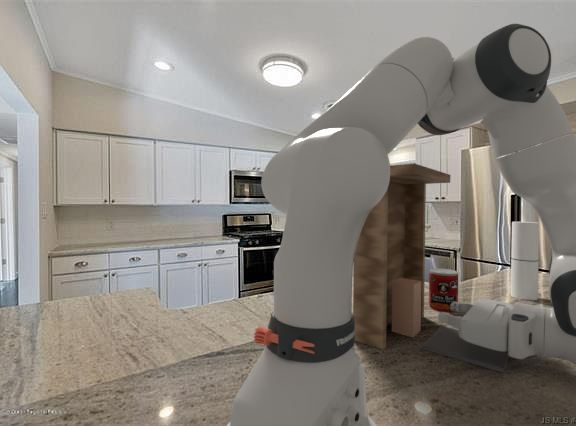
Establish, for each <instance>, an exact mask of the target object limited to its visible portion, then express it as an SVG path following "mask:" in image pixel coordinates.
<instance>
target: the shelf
mask: <svg viewBox="0 0 576 426" xmlns="http://www.w3.org/2000/svg"><path fill="white" fill-rule="evenodd" d="M448 183H449V184H450V183H451V174H449V173H446V172H443V171H440V170H436V169H433V168H429V167H427V166H424V165H420V164H417V163H408V164H407V163H404V164H396V165H395V164H394V165H390V181H389V185H388V188H387V191H386V193H385V195H384V196H383V198H382V199H381V200H380V202H379V203H378V204H377V205H376V206H375V207H374V208H373V209H372V210H371V212H370V213H369V215H368V216H367V218H366V220H365V223H364V225H363V228H362V231H361V234H360V237H359V240H358V244H357V247H356V251H355V256H354V262H353V276H352V297H353V298H352V301H353V303H352V314H353V316H354V320H355V327H356V332H355V341H356V342H357V343H361V344H364V345H368V346H371V347H373V348H377V349H379V350H382V351H383V350H385V349H386V348H387V326H388V325H389V324H392V281H394V280H397V279H399V278H404V279H411V280H417V281H421V319H423V318H424V317H425V274H426V273H425V269H426V267H425V266H426V265H425V264H426V263H425V262H426V201H427V200H426V199H427V198H426V195H427V194H426V193H427V188H426V187H427V184H429V185H430V184H431V185H433V184H448Z"/></svg>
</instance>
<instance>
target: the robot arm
mask: <svg viewBox="0 0 576 426" xmlns="http://www.w3.org/2000/svg"><path fill="white" fill-rule="evenodd" d="M551 67H552V52H551V48H550V45H549V44H548V42H547V40H546V38H545V36H543V35H542V33H540V32H539V31H538V30H537V29H535V28H533V27H531V26H529V25H525V24H520V23H511V24H508V25H505V26H502V27H500V28H498V29H497V30H494V31H492V32H491V33H489V34H488V35H486V36H484V37H483V38H481V40H480V41H479V42H478V43H477V44H476V45H474V46H472V47H471V48H469V49H468V50H466V51H465V52H463V53H462V54H461V55H459V56H458V57H457V58H455V57H453V56H452V53H451V50H450V48H448V46H447V45H446V44H445V43H443V42H442V41H441V40H439V39H437V38H434V37H431V36H430V37H429V36H423V37H422V36H421V37H417V38H414V39H411V40H410V41H408V42H407V43H405V44H403V45H401V46H400V47H398V48H396V49H395V50H394V51H392V52H391V53H389V54H388V55H387V56H385V57H384V58H383V59H382V60H380V61H379V62H378V63H377V64H376V65H375V66H373V68H371V69H370V70H369V71H368V72H367V73H366V74H365V75H364V76H363V77H362V78H361V79H360V80H359V81H358V82H356V83H355V84H354V86H352V87H351V88H350V89H349V90H348V91H347V92H346V93H345V94H343V96H342V97H341V98H340V99H338V100H337V101H336V102H335V103H333V105H332V106H331V105H330V107H329V108H328V109H327V110H326V111H324V112H323V113H322V114H320V115H319V116H318V117H316V119H315V120H314V121H312V122H311V123H310V124H309V125H307V126H306V127H305V128H304V129H303V130H302V131H300V132H299V134H297V135H296V136H294V137H293V139H292V140H290V141H289V142H288V143H287V144H286V145H285V146H284V147H282V148H281V149H280V150H279V151H278V152H277V153H276V154H275V155H274V156H272V157H271V159H270V160H269V162H268V163H267V165H266V166H265V168H264V170H263V173H262V175H261V180H260V181H261V190H262V193H263V196H264V197H265V199H266V201H267V202H268V203H269V204H270V205H271V206H272V207H274V208H275V209H276V210H278V211H279V212H280V213H283V214H285V215H286V218H285V224H284V229H283V233H282V238H281V243H280V246H279V249H278V251H277V252H276V255H275V257H274V259H273V260H274V261H273V311H272V312H271V314H270V317H269V322H268V324H267V328H265V327H263V326H258V327H256V328H255V332H254V334H253V335H254V336H253V340H254V341H255V343H257V344H263V345H265V347H264V349H263V350H262V352H261V353H260V356H259V357H258V359H257V360H256V361H255V364H254V366H253V367H252V369H251V371H250V372H249V374H248V375H247V377H246V379H245V380H244V383H243V384H242V385H241V387H240V389H239V390H238V392H237V394H236V396H235V397H234V399H233V403H232V405H231V406H232V407H231V412H230V420H229V422H228V423H227V424H226V426H378V425H377V424H376V422H375V421H374V420H373V419H372V417H370V416H369V415H368V408H367V407H368V406H367V405H368V403H367V388H366V371H365V366H364V365H363V363H362V361H361V360H360V359H359V357H358V355H357V353H356V351H355V348H354V346H355V332H356V327H355V320H354V316H353V303H352V301H353V298H352V297H353V276H354V256H355V251H356V247H357V244H358V240H359V237H360V234H361V231H362V228H363V225H364V223H365V220H366V218H367V216H368V215H369V213H370V212H371V210H372V209H373V208H374V207H375V206H376V205H377V204H378V203H379V202H380V200H381V199H382V198H383V196H384V195H385V193H386V191H387V188H388V185H389V181H390V166H391V161H390V157H389V154H390V153H391V152H393V151H394V150H395V149H396V148H397V146H398V145H399V144H401V142H402V141H403V140H404V139H405V137H406V136H407V135H408V134H410V132H411V131H412V130H413V129H414V128H415V127H416V125H418V126H419V127H420V128H421V129H422V130H423V131H425V132H426V133H429V134H430V135H433V136H444V135H450V134H452V133H455V132H457V131H459V130H461V129H463V128H465V127H469V126H470V125H472V124H475V123H477V122H480V124H481V125H482V126H484V127H485V128H486V130H487V134H488V138H489V143H490V147H491V149H492V150H491V151H492V154H493V156H494V158H495V162H496V165H497V167H498V170H499V172H500V173H501V176H502V178H503V179H504V182H506V184H507V186H508V187H509V189H510V190H511V191H512V193H513V194H515V195H516V196H517V197H519V198H521V199H523V200H524V201H526V202H527V203H528V204H530V205H531V207H532V208H533V209H534V210H535V212H536V214H537V215H538V217H539V220H540V222H541V225H542V228H543V230H544V233H545V235H546V238H547V240H548V243H549V245H550V248H551V255H550V262H549V265H548V266H549V267H548V273H549V278H548V279H549V281H548V297H549V299H550V302H551V304H552V307H545V306H541V305H534V304H529V303H523V302H517V301H514V303H513V304H511V303H507V302H503V301H499V300H498V301H497V300H494V299H488V298H478V299H477V300H476V302H475V303H473V302H459V301H458V302H452V303H451V307H450V309H451V310H452V311H454V312H457V313H460V312H461V313H464V315H463V316H459V315H456V316H455V315H453V314H450V313H451V312H443V311H440V313H438V315H437V316H438V318H437V319H438V321H439V322H440V323H444V324H447V325H449V326H451V328H452V327H453V329H457V330H459V337H460V338H461V339H463V340H465V341H467V342H469V343H472V344H475V345H478V346H482V347H485V348H488V349H492V350H496V351H501V352H505V351H507V350H508V355H509V358H514V359H517V360H524V359H526V358H528V357H532V356H540V357H543V358H548V359H550V358H551V359H561V360H564V361H567V362H568V363H571V364H574V365H575V366H576V135H575V133H574V129H573V128H572V125H571V123H570V121H569V118H568V116H567V114H566V112H565V110H564V109H563V107H562V105H561V104H560V102H559V101H558V99H557V97H556V96H555V94H553V92H552V91H551V89H550V88H549V87H548V86H547V85H548V80H549V78H550V73H551V69H552V68H551Z"/></svg>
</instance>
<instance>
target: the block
mask: <svg viewBox="0 0 576 426" xmlns="http://www.w3.org/2000/svg"><path fill="white" fill-rule="evenodd" d="M421 320H422V318H421V281H417V280H411V279H404V278H399V279H397V280H394V281H392V322H391V332H393V333H396V334H399V335H403V336H405V337H406V336H407V337H411V338H414V337H415V336H416V335H418V334H419V333H420V332H421V327H422V326H421V324H422V323H421V322H422V321H421Z"/></svg>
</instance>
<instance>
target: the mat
mask: <svg viewBox="0 0 576 426" xmlns="http://www.w3.org/2000/svg"><path fill="white" fill-rule="evenodd" d="M422 349H423V350H424V351H429V352H432V353H436V354H439V355H442V356H446V357H449V358H453V359H457V360H460V361H462V362H466V363H469V364H472V365H475V366H479V367H483V368H487V369H489V370H493V371H497V372H499V373H503V374H505V371H506V367H507V365H508V362H509V359H510V356H509V355H508V350H507V351H505V352H501V351H496V350H492V349H488V348H485V347H482V346H478V345H475V344H472V343H469V342H467V341H465V340H463V339H461V338H460V337H459V329H457V328H454V327H453V328H452V327H448V326H443V325H441V326H440V327H439V328H438V329H437V330H436V331H435V332H434V333H433V334H432V335H431V336H430V337H429V338H428V339H426V341H425V342H424V343H422Z"/></svg>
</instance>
